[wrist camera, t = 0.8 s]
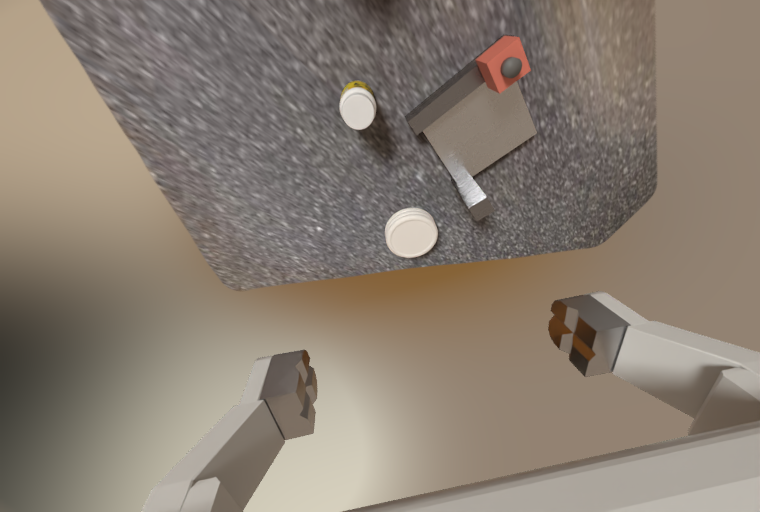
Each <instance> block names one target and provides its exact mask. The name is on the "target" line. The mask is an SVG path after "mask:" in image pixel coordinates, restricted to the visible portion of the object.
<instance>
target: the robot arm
mask: <svg viewBox="0 0 760 512" xmlns="http://www.w3.org/2000/svg"><path fill="white" fill-rule="evenodd" d="M551 311H552V313H553V314H554V316H553V317H552V319H551V320H550V321H549V327H548V330H549V334H550V337H551V339H552V340H553V342H554V344H555V345H556V346H557V347H558V348H559V350H562V351H564V352H566V353H568V354H569V360H570V361H571V363H572V364H573V365H574V366H575V367H576V368H577V369H578V370H579V371H580V372H581V373H582V374H583V375H584V376H585V377H588V376H594V375H599V374H605V373H610V372H613V374H614V375H616V376H618V377H619V378H621V379H623V380H625V381H627V382H629V383H631V384H633V385H634V386H636V387H638V388H640V389H641V390H643V391H645V392H647V393H649V394H651V395H652V396H654V397H656V398H658V399H660V400H662V401H663V402H665V403H667V404H669V405H671V406H673V407H674V408H676V409H678V410H680V411H682V412H684V413H685V414H687V415H689V416H691V417H693V418H694V421H693V422H692V424H691V426H690V428H689V430H688V436H686V437H681V438H677V439H672V440H667V441H663V442H659V443H654V444H650V445H645V446H640V447H635V448H631V449H626V450H622V451H618V452H613V453H608V454H603V455H599V456H594V457H589V458H585V459H580V460H576V461H571V462H567V463H562V464H557V465H553V466H548V467H544V468H539V469H534V470H530V471H525V472H521V473H517V474H512V475H507V476H502V477H498V478H493V479H489V480H484V481H480V482H475V483H471V484H466V485H461V486H457V487H453V488H448V489H443V490H439V491H434V492H430V493H425V494H420V495H416V496H411V497H407V498H402V499H398V500H393V501H388V502H384V503H379V504H375V505H370V506H366V507H361V508H357V509H352V510H347V511H343V512H760V353H759V352H756V351H752V350H749V349H746V348H742V347H739V346H736V345H732V344H729V343H726V342H722V341H719V340H716V339H713V338H709V337H706V336H703V335H699V334H696V333H693V332H690V331H686V330H683V329H679V328H676V327H672V326H670V325H666V324H663V323H660V322H656V321H652V322H649V321H647V320H646V319H645V318H643V317H641V316H640V315H639V314H637V313H635V312H634V311H633V310H631V309H630V308H628V307H627V306H625V305H624V304H622V303H621V302H619V301H618V300H616V299H614V298H613V297H612V296H610V295H609V294H607V293H605V292H602V291H597V292H593V293H589V294H584V295H579V296H575V297H570V298H565V299H560V300H555V301H554V302H553V304H552V307H551ZM309 362H310V357H309V355H308V352H307V351H306V350H300V351H295V352H289V353H283V354H277V355H274V356H268V357H262V358H258V359H257V360H256V361H255V362H254V365H253V368H252V370H251V373H250V376H249V379H248V381H247V384H246V387H245V390H244V392H243V395H242V398H241V401H240V404H239V405H235V406H233V407H232V408H231V409H230V410H229V411H228V412H227V413H226V414H225V415H224V417H222V419H221V420H220V421H219V422H218V423H217V424H216V425H215V426H214V427H213V428H212V429H211V430H210V431H209V432H208V433H207V434H206V435H205V436H204V437H203V438H202V439H201V440H200V441H199V442H198V443H197V444H196V445H195V446H194V447H193V448H192V449H191V450H190V451H189V452H188V453H187V454H186V455H185V456H184V457H183V458H182V459H181V460H180V461H179V462H178V463H177V464H176V465H175V466H174V467H173V468H172V469H171V470H170V471H169V472H168V473H167V474H166V475H165V477H163V478H162V479H161V481H159V483H157V485H156V486H155V487H154V488H153V489H152V491H151V493H150V495H149V497H148V498H147V501H146V502H145V504H144V506H143V508H142V510H141V512H243V510H244V508H245V506H246V505H247V503H248V501H249V499H250V498H251V497H252V495H253V493H254V492H255V490H256V488H257V487H258V485H259V484H260V482H261V480H262V479H263V477H264V476H265V474H266V472H267V471H268V469H269V467H270V466H271V464H272V463H273V461H274V459H275V458H276V456H277V454H278V453H279V451H280V450H281V448H282V446H283V445H284V443H285V441H284V440H288V439H292V438H297V437H301V436H305V435H309V434H313V433H314V423H315V413H316V412H315V409H314V407H313V403H314V402H315V401H316V399H317V379H316V374H315V371H314V368H312V367H311V366H309Z"/></svg>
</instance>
